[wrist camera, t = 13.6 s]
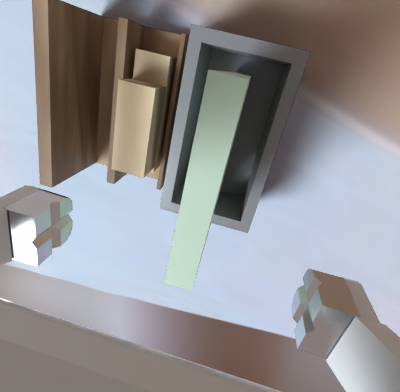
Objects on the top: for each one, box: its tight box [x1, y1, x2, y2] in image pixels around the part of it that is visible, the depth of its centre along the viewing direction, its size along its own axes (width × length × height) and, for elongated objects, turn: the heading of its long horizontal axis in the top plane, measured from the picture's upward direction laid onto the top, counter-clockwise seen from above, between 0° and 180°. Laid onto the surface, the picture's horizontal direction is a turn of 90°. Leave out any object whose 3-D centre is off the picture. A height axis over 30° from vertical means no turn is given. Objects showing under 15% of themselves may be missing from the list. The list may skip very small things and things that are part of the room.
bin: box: [160, 24, 310, 233], centre depth 27 cm, size 9×16×7 cm, turn 168°
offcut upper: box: [111, 79, 166, 178], centre depth 26 cm, size 3×8×3 cm, turn 168°
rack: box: [32, 0, 189, 190], centre depth 26 cm, size 10×15×10 cm, turn 168°
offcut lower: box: [133, 49, 177, 172], centre depth 28 cm, size 3×11×3 cm, turn 168°
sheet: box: [164, 70, 251, 291], centre depth 21 cm, size 2×11×18 cm, turn 168°
